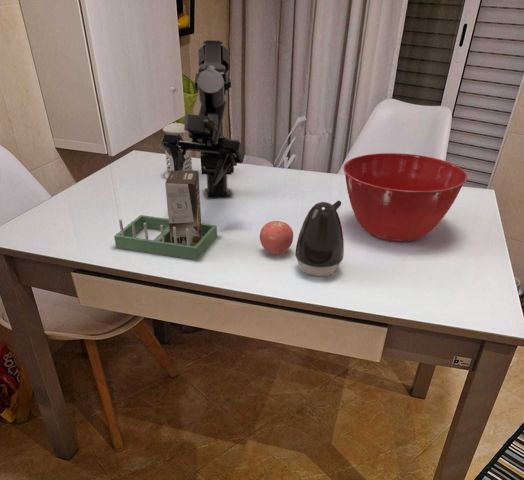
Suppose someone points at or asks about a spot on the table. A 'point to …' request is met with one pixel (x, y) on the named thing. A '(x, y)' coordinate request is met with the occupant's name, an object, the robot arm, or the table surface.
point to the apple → (276, 237)
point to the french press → (179, 129)
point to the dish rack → (162, 238)
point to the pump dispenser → (320, 240)
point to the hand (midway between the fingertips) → (195, 182)
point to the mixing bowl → (401, 193)
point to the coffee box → (184, 206)
